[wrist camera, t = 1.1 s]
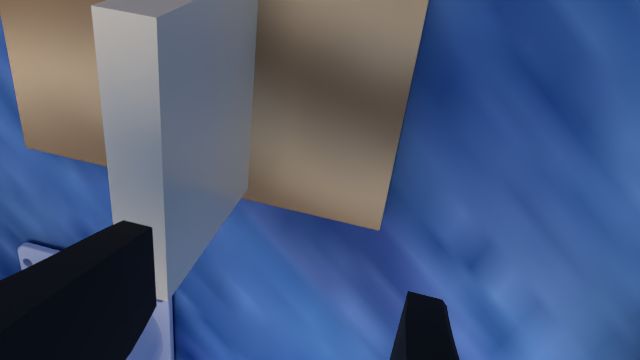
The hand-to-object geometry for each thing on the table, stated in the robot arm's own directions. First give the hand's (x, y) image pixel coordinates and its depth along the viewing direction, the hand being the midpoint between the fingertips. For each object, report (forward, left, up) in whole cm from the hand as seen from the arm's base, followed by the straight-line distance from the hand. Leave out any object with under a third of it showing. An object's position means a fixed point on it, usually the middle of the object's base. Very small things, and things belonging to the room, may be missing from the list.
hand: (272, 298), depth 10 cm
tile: (0, +5, -9) cm, 10 cm away
